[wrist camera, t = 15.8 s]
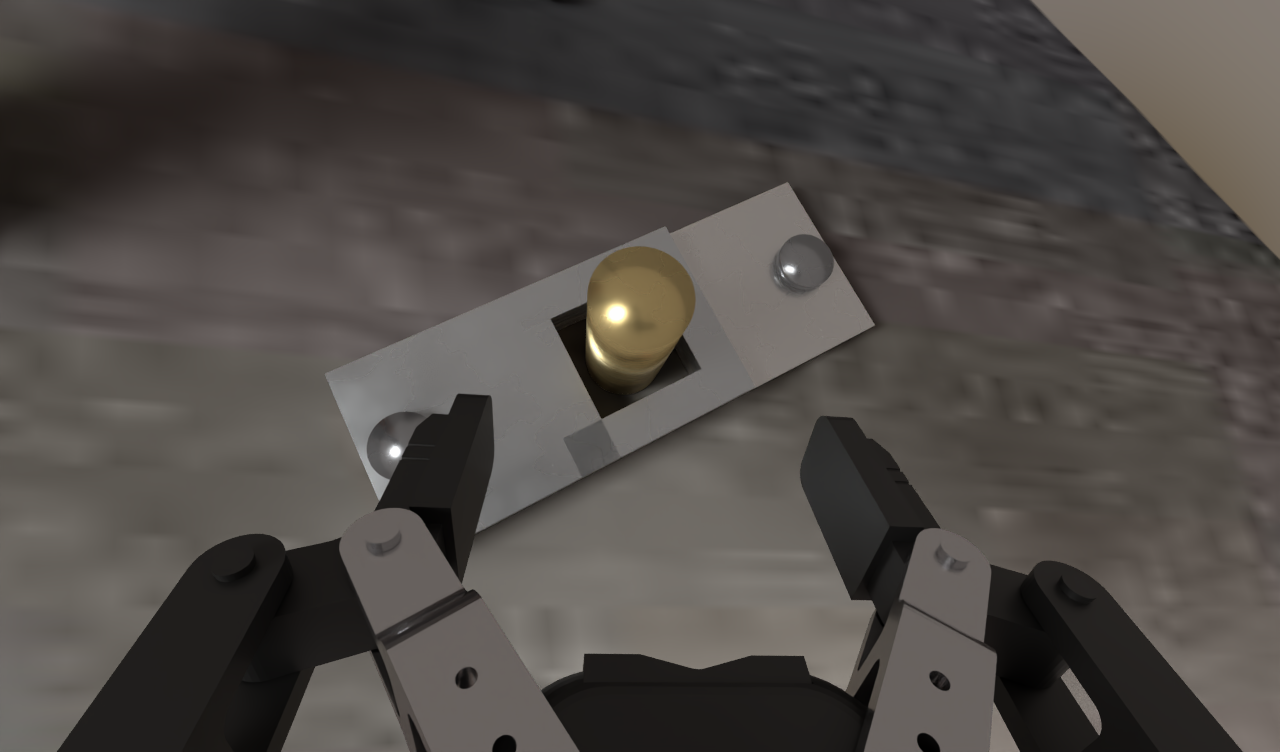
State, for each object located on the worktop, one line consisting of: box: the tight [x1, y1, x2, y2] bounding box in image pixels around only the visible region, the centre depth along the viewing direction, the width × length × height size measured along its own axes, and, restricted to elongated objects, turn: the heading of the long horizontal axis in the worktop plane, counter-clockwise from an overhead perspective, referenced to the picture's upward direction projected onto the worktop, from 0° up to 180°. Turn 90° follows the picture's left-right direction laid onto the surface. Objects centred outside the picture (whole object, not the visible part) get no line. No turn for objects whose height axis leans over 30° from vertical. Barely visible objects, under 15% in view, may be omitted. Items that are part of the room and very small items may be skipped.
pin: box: [585, 246, 696, 395], centre depth 24 cm, size 4×4×9 cm
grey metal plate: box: [325, 182, 875, 534], centre depth 26 cm, size 26×10×3 cm, turn 118°
